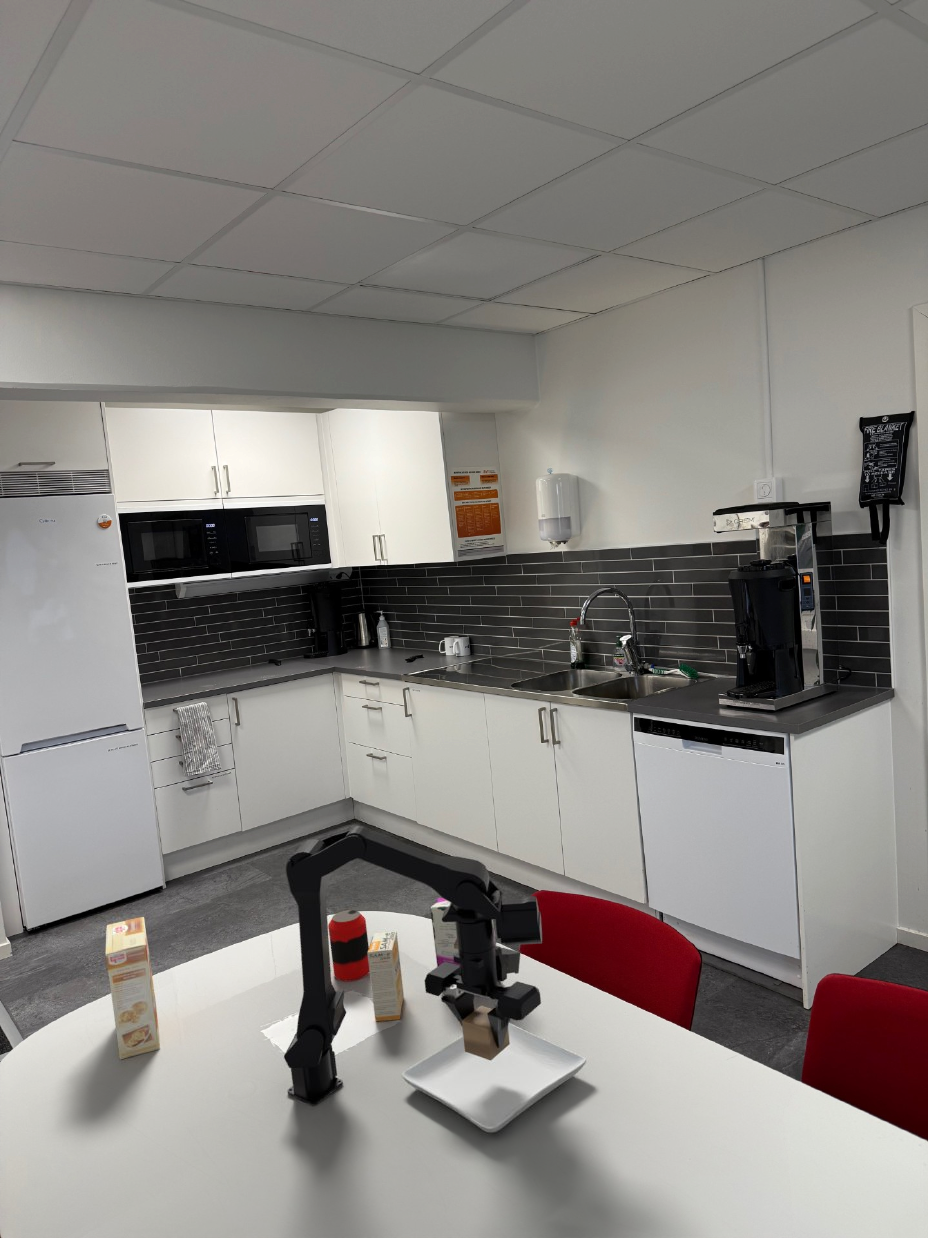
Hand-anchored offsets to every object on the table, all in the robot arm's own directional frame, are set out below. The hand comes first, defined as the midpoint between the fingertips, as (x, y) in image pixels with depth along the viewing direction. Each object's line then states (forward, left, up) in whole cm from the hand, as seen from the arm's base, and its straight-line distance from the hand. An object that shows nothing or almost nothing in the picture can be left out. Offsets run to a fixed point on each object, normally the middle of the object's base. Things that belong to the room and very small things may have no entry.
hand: (486, 1042), depth 134 cm
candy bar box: (+23, +22, -7) cm, 32 cm away
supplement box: (+9, +30, -7) cm, 32 cm away
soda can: (+16, +47, -7) cm, 50 cm away
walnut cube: (0, 0, -1) cm, 1 cm away
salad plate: (0, -1, -7) cm, 7 cm away
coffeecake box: (-20, +67, -7) cm, 70 cm away
